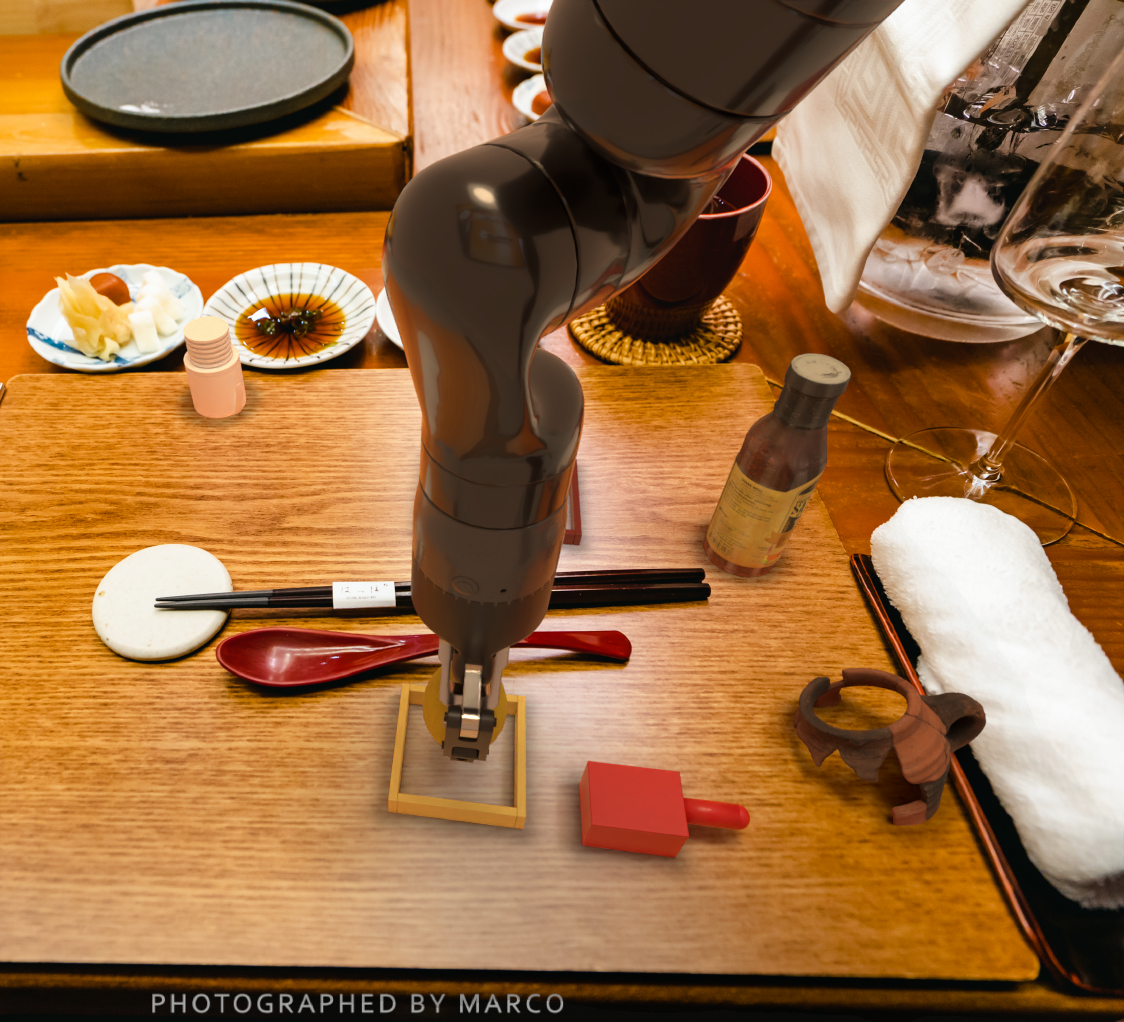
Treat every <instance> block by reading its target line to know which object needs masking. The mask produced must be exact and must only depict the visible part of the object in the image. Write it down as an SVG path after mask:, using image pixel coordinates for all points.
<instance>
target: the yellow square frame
mask: <svg viewBox="0 0 1124 1022" xmlns="http://www.w3.org/2000/svg"><path fill="white" fill-rule="evenodd" d="M426 686H427V685H424V684H416V683H406V682H402V684H401V691H400V698H399V706H398V707H399V708H398V715H397V722H396V723H397V724H396V731H395V740H394V749H393V757H392V766H391V772H390V773H391V774H390V782H389V788H388V789H389V790H388V799H387V812H389V813H396V814H404V815H409V816H410V815H411V816H418V817H426V818H435V819H442V820H450V821H457V822H458V821H459V822H465V823H471V824H472V823H473V824H481V825H489V826H495V827H496V826H497V827H504V828H512V829H513V828H514V829H518V830H519V829H520V830H523V829H524V826H525V822H526V819H527V696H525V695H516V694H508V693H505V694H506V697H507V716H508V715H509V716H510V715H511V716H514V774H513V776H514V777H513V778H514V781H513V782H514V786H513V789H514V790H513V792H514V793H513V806H505V805H497V804H488V803H480V802H475V801H474V802H473V801H465V800H457V799H449V798H441V797H433V796H425V795H418V794H410V793H402V792H400V788H401V780H402V770H403V763H404V753H405V744H406V735H407V725H408V717H409V709H410V705H421V706H423V697H424V693H425V689H426Z"/></svg>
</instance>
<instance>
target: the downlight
mask: <svg viewBox="0 0 1124 1022" xmlns="http://www.w3.org/2000/svg"><path fill="white" fill-rule="evenodd" d="M229 326H230V325H229V323H228V322H227V320H225V319H224V318H222V317H219V316H213V315H212V316H211V315H210V316H209V315H208V316H200V317H197V318H194V319H192V320H191V321H189V322H187V323H186V324H185V325H184V327H183V331H182V332H183V336H184V340H185V346H186V349H187V351H186V352H185V354H184V356H183V364H184V368H185V369H184V370H185V373H186V377H187V382H188V386H189V391H190V395H191V399H192V404H193V408H194V411H196V413H198V414H199V415H201V416H202V417H204V418H205V417H206V418H209V419H210V418H211V419H222V418H226V417H230V416H233V415H234V416H235V415H238V414H239V413H241V412H242V410H243V408H244V407H245V405H246V403H247V394H246V388H245V382H244V376H243V369H242V364H241V363H242V362H241V358H240V352H239V349H238V348H237V347H236V346H235V345H234V344H232V340H231V339H232V338H231V334H230V333H231V332H230V327H229Z"/></svg>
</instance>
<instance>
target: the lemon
mask: <svg viewBox="0 0 1124 1022" xmlns="http://www.w3.org/2000/svg"><path fill="white" fill-rule="evenodd" d="M452 661H453V660H452ZM452 661H451V668H450V678H451V680H452V681H454V682H457V681H456V680H455V679H454V677H453V674H452ZM441 669H442V665H441V666H440V667H438V668H437V670H435V671H434V672H433V674H432V675H431V676H430V679H429V681H428V682H427V684H426V685H425V686H426V689H425V693H424V697H423V705H422V717H423V721H424V724H425V727H426V729H427V731H428V733H429V734H430V736H431V737H432V739H433V740H434V741H435V742H436V743H437V744H438V745H440V746H441V743H442V740H443V741H444V738H445V727H443V718H444V714H445V712H446V711H447V706H446V705H445V704H443V703H442V702H441V701H440V699H439V693H440V681H441ZM457 683H458V682H457ZM506 694H507V693H506V690H505V686H504V684H503V682H502V681H501V687H500V696H499V704H498V706H497V707H496V708H495V709H492V710H494V717H497V724H496V727H494V729H493V735H492V739H491V742H490V746H491V745H492V744H493V743H495V741H496V740H497V739H498V737H499V736H500V734H501V733H502V731H503V729H504V726H505V724H506V720H507V717H508V714H507V697H506ZM460 706H461V705H460Z"/></svg>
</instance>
